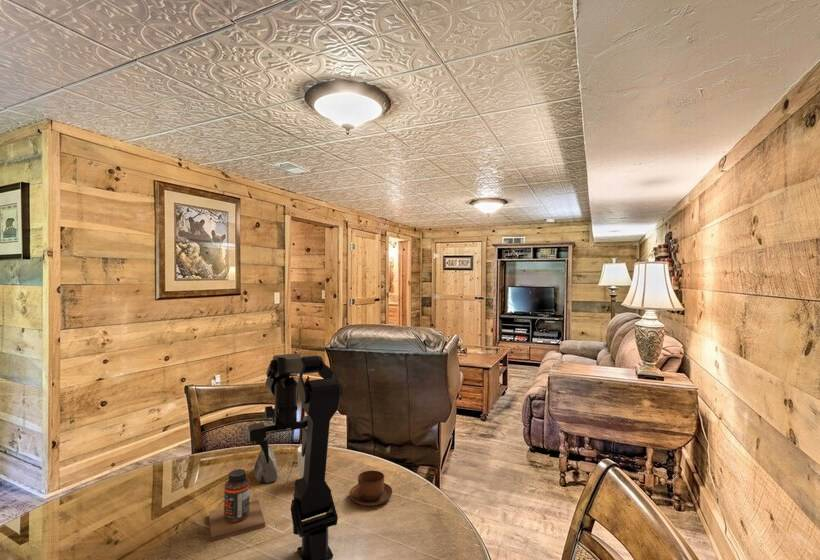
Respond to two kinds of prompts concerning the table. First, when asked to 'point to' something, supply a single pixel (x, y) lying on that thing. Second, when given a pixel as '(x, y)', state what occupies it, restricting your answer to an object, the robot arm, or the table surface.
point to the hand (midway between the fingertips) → (285, 459)
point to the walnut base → (226, 529)
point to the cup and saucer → (370, 489)
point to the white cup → (300, 463)
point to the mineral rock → (266, 467)
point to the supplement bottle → (236, 496)
